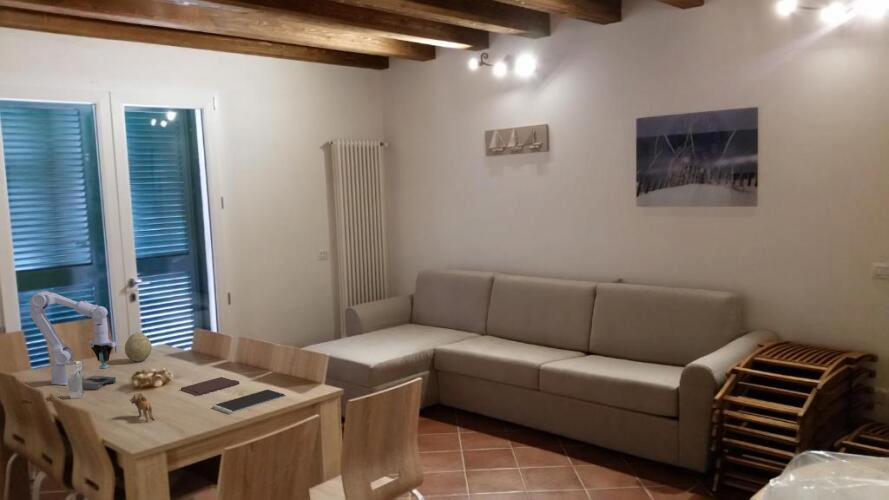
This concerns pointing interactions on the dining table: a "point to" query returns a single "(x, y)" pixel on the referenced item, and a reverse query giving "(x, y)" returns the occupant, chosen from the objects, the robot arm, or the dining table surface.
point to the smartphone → (248, 401)
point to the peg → (102, 362)
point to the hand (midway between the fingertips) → (103, 360)
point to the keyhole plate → (97, 382)
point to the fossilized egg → (138, 347)
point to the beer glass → (74, 379)
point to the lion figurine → (142, 406)
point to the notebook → (210, 386)
